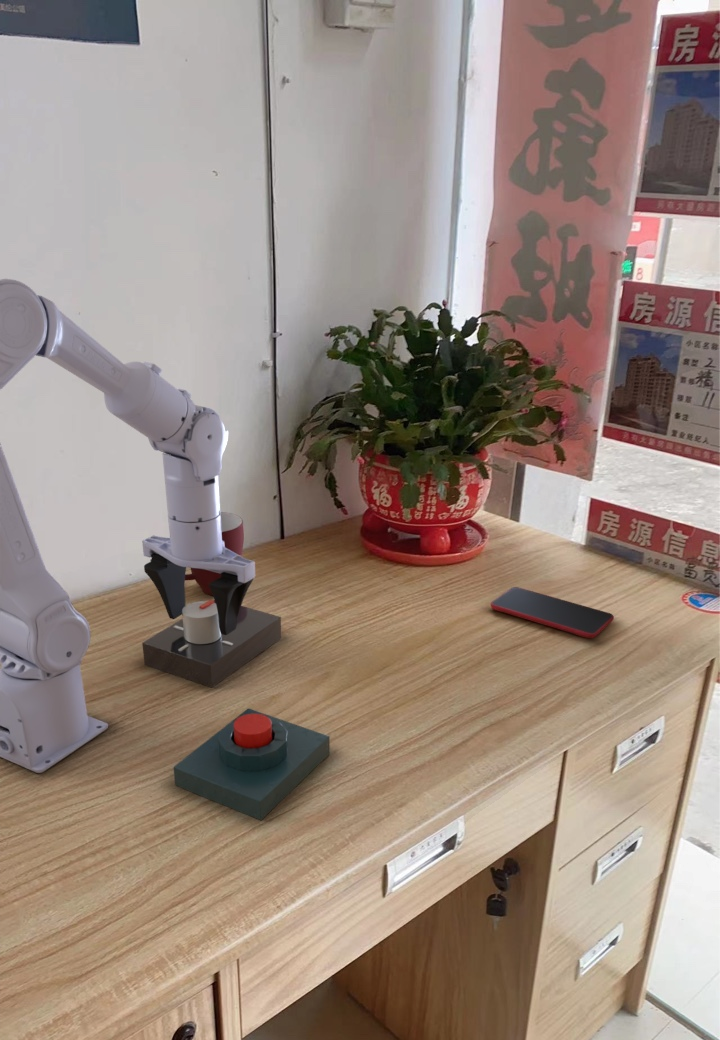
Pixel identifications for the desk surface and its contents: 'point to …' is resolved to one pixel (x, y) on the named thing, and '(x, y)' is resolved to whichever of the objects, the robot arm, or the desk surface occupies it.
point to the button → (252, 731)
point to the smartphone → (553, 612)
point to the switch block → (252, 767)
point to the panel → (212, 648)
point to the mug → (232, 541)
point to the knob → (201, 622)
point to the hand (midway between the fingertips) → (202, 623)
